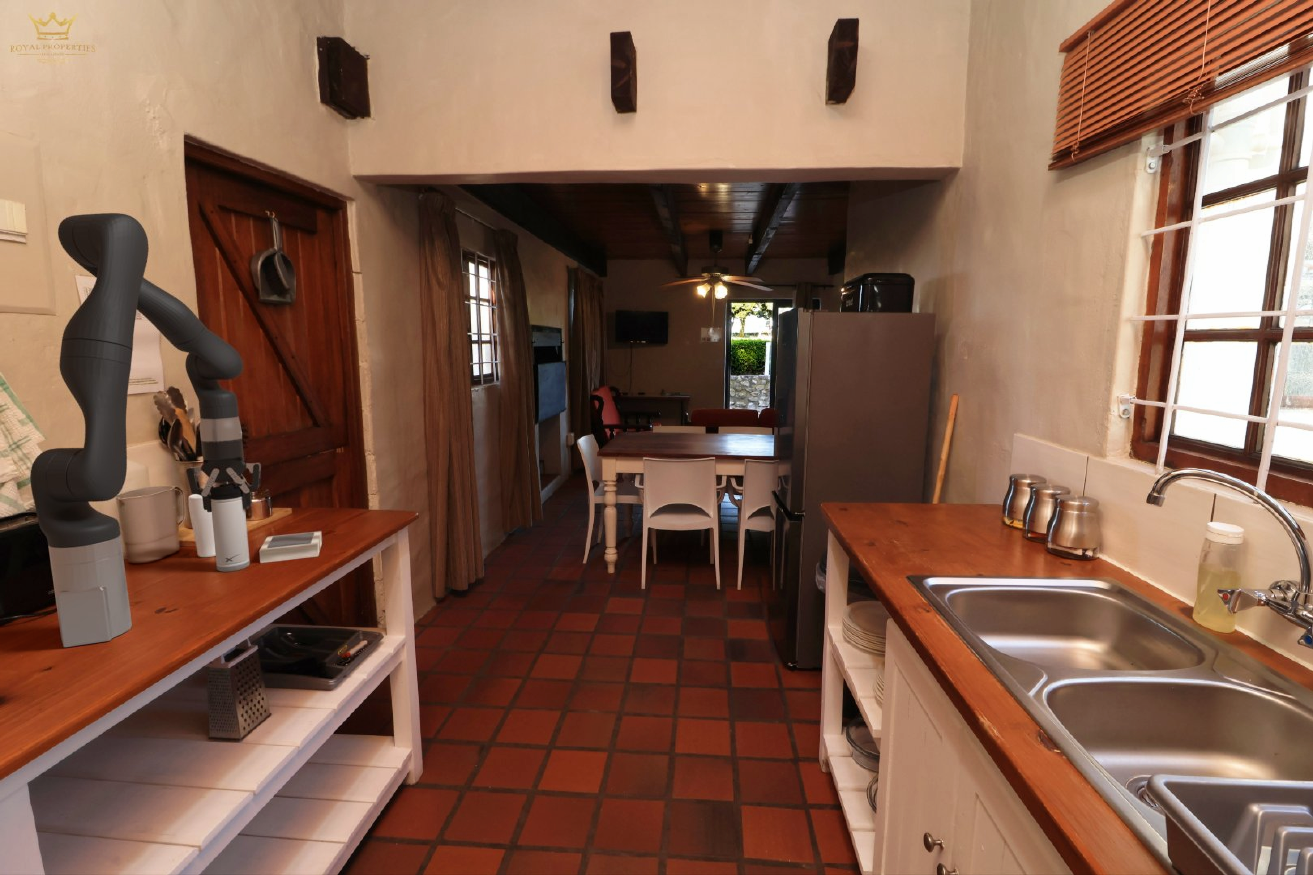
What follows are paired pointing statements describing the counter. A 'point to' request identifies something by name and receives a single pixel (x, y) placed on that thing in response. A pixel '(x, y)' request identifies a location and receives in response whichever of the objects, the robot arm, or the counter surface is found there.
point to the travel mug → (229, 527)
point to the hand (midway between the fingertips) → (228, 509)
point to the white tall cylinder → (202, 526)
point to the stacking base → (291, 547)
